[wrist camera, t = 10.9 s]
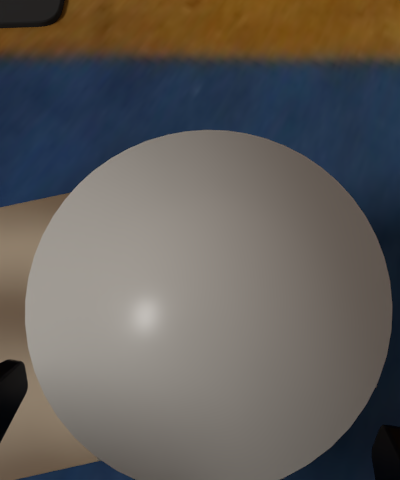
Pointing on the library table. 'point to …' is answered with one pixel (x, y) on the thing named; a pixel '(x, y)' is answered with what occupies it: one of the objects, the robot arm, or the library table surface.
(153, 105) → the library table surface
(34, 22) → the phone
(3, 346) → the cork pad
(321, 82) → the library table surface
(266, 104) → the library table surface
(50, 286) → the white faceted jar
